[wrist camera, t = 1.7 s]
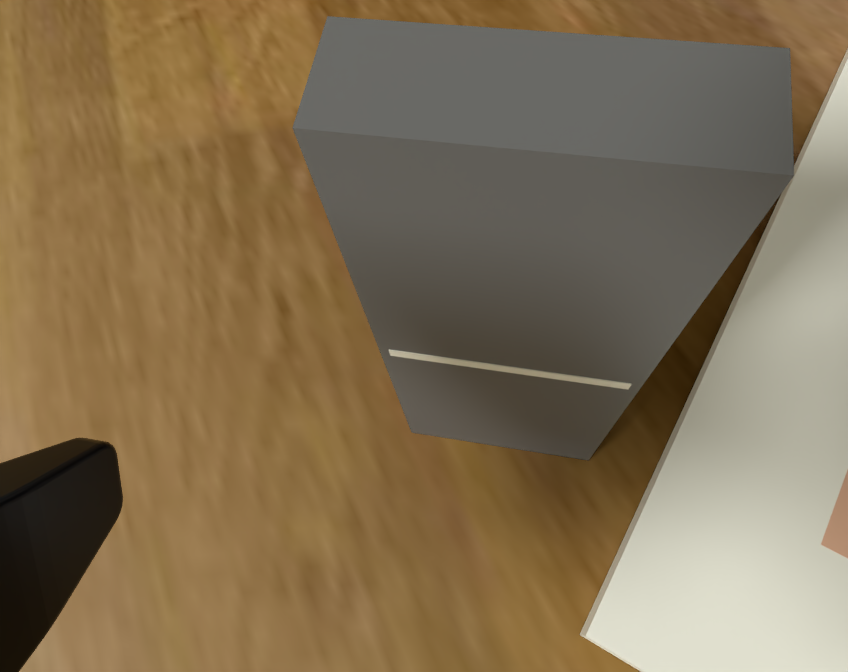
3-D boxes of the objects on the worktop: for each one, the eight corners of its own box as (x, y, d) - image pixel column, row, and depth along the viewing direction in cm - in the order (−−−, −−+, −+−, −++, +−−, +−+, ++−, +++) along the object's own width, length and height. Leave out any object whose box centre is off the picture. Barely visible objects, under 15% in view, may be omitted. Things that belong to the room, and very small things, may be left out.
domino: (588, 461, 18) (794, 177, 6) (411, 433, 19) (292, 129, 7) (593, 404, 19) (789, 46, 7) (421, 379, 20) (328, 14, 8)
